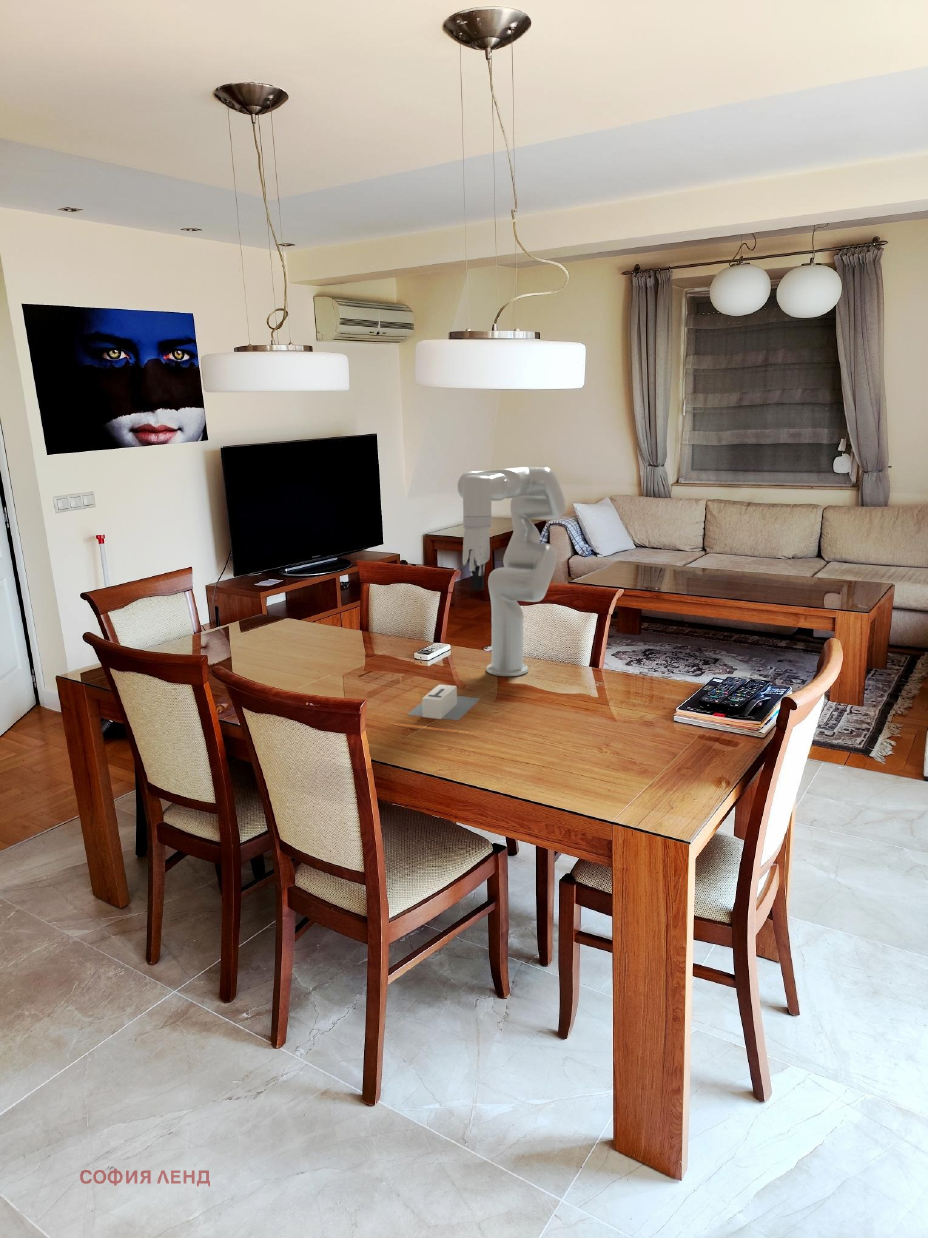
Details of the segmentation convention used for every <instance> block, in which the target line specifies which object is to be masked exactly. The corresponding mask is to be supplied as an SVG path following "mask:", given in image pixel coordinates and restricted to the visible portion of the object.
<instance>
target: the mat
mask: <svg viewBox="0 0 928 1238" xmlns="http://www.w3.org/2000/svg"><path fill="white" fill-rule="evenodd" d="M480 700H481V697H472V696H464V695H463V696H462V695H457V705H456V706H454V707H453V708H452V709H451V710H450V711H449V712H448V713H447V714H446V715H445V716H444V717H443V718H442V719H443V720H452V721H460V719H462V718H463V717H464V716H465V714H467V713H468V712H469V711H470V709H472V708H473V707H474V706H475V705H476V704H477V703H478V702H479V701H480ZM407 715H408V716H416V717H423V713H422V701H421V702H420V703H419V704H418V705H417V706H416V707H414V708H413V709H412V710H410V712H409V713H407ZM442 719H441V720H442Z"/></svg>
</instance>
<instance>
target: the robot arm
mask: <svg viewBox="0 0 928 1238" xmlns="http://www.w3.org/2000/svg"><path fill="white" fill-rule="evenodd" d="M457 491H458V494H459V496H460V497H461V498H462V505H463V506H462V508H463V509H462V510H463V511H462V512H463V513H462V523H463V525H462V526H463V528H462V529H464V531H463V539H462V541H463V542H462V543H463V545H462V564H463V566H468V565H469V567H468V571H470V589H471V590H472V591H483V590H485V567H486V563H487V562H489V560H490V557H491V554H490V553H491V544H490V543H491V542H490V541H491V539H490V538H491V537H490V529H491V528H492V502H498V501H499V502H500V501H503V500H505V499H511V500H510V515H511V516H510V517H511V523H512V528H513V529H512V530H513V533H512V535H511V538H510V540H509V542H508V545H507V547H506V550H505V551H504V552H505V553H504V554H503V561H502V562H503V567H497V568H495V569H493V570H492V571H491V572H490V573H489V576H488V578H487V579H488V580H487V585H488V593H489V598H490V606H491V607H490V609H491V612H490V613H491V663H489V664H487V665H486V672H487V673H488V674H491V675H493V676H496V677H497V676H498V677H518V676H522V675H524V674H527V673H528V672H529V666H528V665H527V664H526V663H524V612H523V610H522V608H521V606H520V603H519V602H529V603H531V602H532V603H536V602H537V603H538V602H540V601H542V600H543V599H544V598H545V597H546V595H547V591H548V589H549V586H550V583H551V581H552V578H553V575H554V573H555V570H556V566H557V560H558V559H557V558H558V557H557V551H556V549H555V547H554V546H553V545H551V544H550V543H545V542H540V541H541V533H540V532H539V529H538V528H537V527H536V526H535V524H534V523H533V522H532V521H531V520H547V521H548V520H559V519H560V518H562V517H563V516H564V514H565V513H566V512H565V511H566V500H565V497H564V493H563V489H562V487H561V485H560V482H559V480H558V477H557V476H556V474H555V471H553V470H552V469H551V468H549V467H547V466H546V467H545V466H544V467H543V466H542V467H541V466H518V467H508V468H496V469H489V470H477V471H467V472H464V473H462V475H461V476H459V478H458V481H457ZM518 601H519V602H518Z"/></svg>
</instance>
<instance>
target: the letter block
mask: <svg viewBox="0 0 928 1238" xmlns="http://www.w3.org/2000/svg"><path fill="white" fill-rule="evenodd" d="M457 687H458V686H457V685H449V684H438V685H436V686H435V687H433V689H431V690H430V691H429V692H428V693H426V695H424V696H423V697H422V699H421V702H422V713H423V716H422V717H423V718H428V719H436V720H437V719H438V720H442V718H443V717H444V716H445V715H446V714H447V713H448V712H449V711H450V710H451V709H452V708H453V707H454V706H456V705H457V696H458V695H457V694H458V691H457V690H458V688H457Z"/></svg>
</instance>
